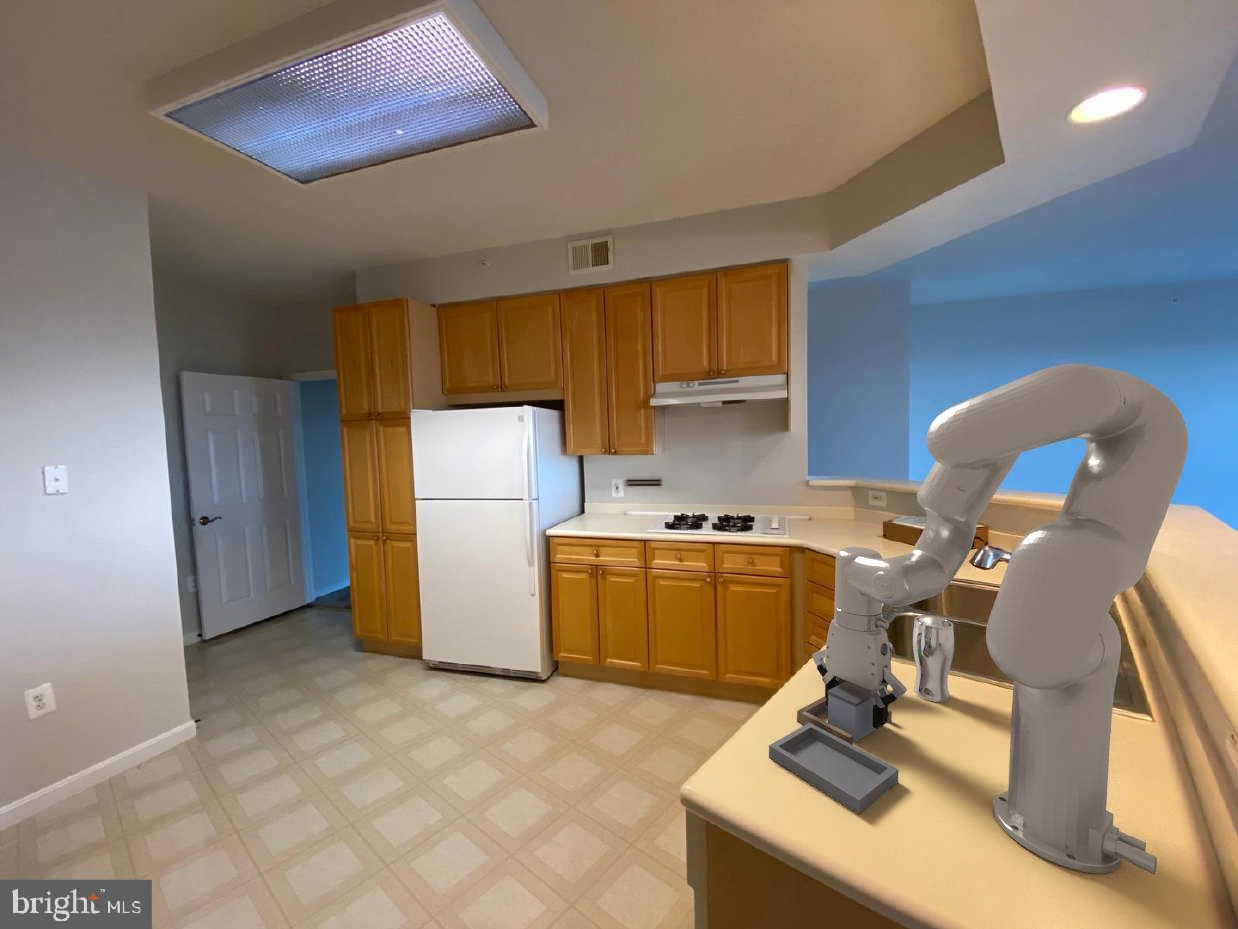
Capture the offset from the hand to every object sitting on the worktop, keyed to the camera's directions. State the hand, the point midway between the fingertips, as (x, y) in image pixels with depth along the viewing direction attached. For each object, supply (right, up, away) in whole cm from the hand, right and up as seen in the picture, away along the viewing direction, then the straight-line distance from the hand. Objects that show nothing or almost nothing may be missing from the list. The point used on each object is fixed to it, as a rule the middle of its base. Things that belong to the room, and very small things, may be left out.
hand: (854, 714), depth 89 cm
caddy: (0, -2, 0) cm, 2 cm away
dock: (-1, -2, +2) cm, 3 cm away
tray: (-9, -3, -11) cm, 15 cm away
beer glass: (+20, -2, +11) cm, 23 cm away
